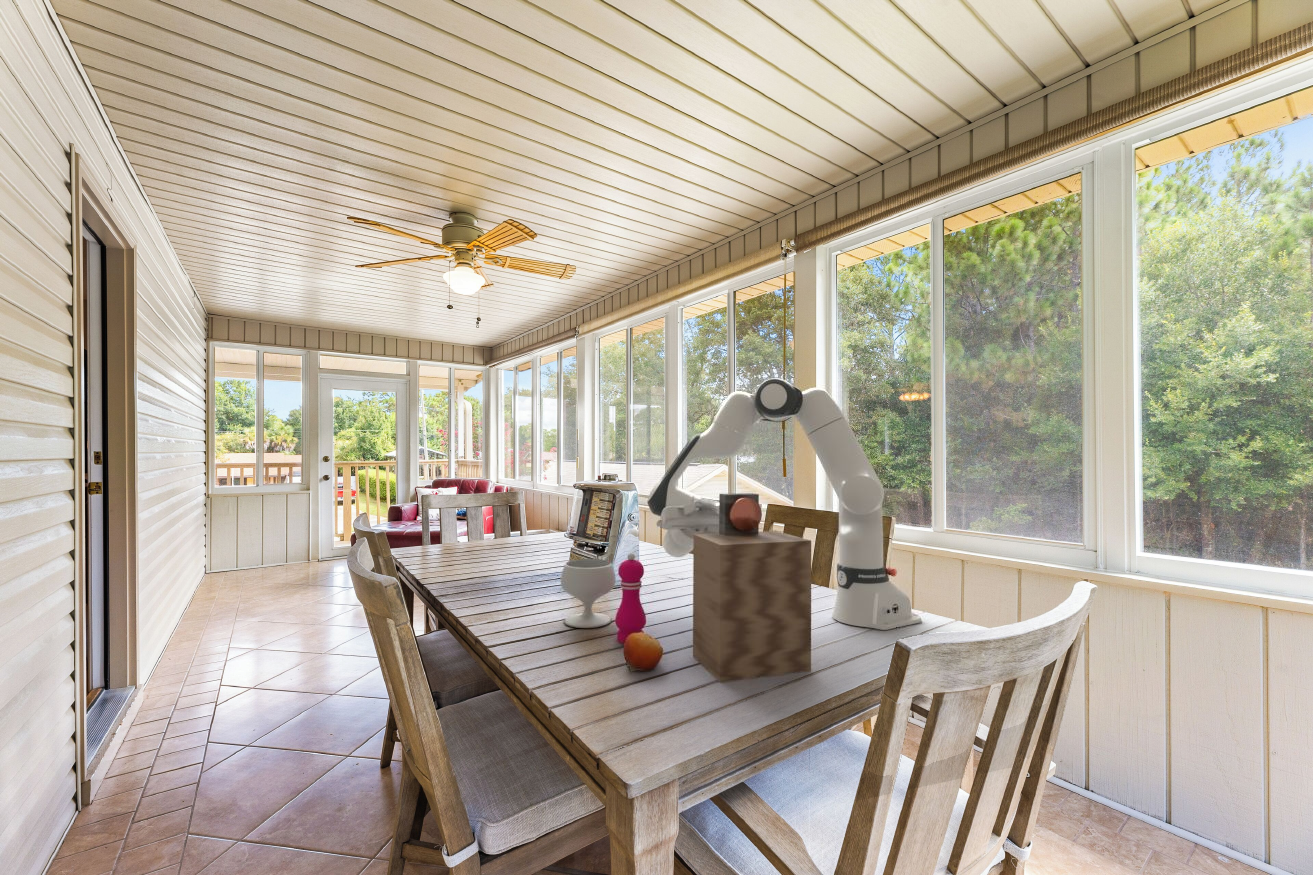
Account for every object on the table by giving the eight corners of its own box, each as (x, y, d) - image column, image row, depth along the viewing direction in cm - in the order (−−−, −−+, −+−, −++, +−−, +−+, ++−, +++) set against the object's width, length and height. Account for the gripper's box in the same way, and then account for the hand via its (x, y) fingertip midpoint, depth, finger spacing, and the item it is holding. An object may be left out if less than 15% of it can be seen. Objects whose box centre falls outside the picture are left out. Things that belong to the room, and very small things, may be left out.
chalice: (569, 612, 151) (570, 556, 151) (620, 615, 149) (620, 558, 149) (552, 629, 137) (553, 567, 137) (608, 632, 135) (609, 569, 135)
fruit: (608, 657, 114) (628, 621, 116) (639, 672, 117) (657, 637, 118) (622, 672, 107) (642, 633, 109) (654, 688, 109) (673, 650, 111)
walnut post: (775, 646, 125) (776, 492, 126) (811, 670, 112) (811, 497, 113) (692, 656, 119) (693, 494, 120) (719, 682, 106) (720, 499, 107)
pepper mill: (647, 634, 133) (648, 550, 133) (644, 645, 126) (644, 556, 126) (617, 633, 133) (618, 549, 134) (612, 644, 126) (613, 555, 127)
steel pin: (714, 517, 142) (714, 489, 143) (761, 530, 119) (761, 497, 119) (689, 518, 140) (689, 490, 141) (731, 532, 117) (732, 498, 117)
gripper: (652, 515, 147) (667, 492, 135) (723, 513, 153) (743, 491, 142) (656, 538, 144) (671, 516, 132) (728, 535, 150) (749, 514, 138)
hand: (709, 503), depth 137 cm, fingers open, 5 cm apart
